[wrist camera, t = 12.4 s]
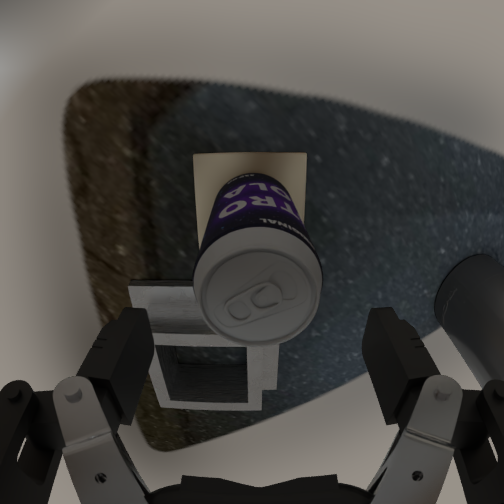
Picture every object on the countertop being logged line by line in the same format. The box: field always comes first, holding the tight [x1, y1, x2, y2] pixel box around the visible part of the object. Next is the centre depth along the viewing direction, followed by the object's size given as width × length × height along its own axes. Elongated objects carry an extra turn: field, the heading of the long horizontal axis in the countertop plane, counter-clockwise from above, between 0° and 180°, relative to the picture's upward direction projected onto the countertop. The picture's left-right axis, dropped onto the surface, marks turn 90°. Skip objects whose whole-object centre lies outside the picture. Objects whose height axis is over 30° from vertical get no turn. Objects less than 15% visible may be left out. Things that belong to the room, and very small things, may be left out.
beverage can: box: [192, 173, 323, 347], centre depth 18 cm, size 6×6×12 cm
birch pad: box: [193, 152, 307, 249], centre depth 24 cm, size 8×8×1 cm
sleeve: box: [128, 280, 279, 410], centre depth 27 cm, size 13×13×5 cm
